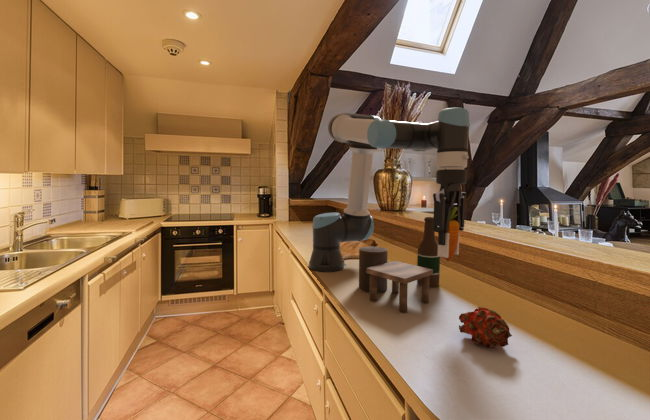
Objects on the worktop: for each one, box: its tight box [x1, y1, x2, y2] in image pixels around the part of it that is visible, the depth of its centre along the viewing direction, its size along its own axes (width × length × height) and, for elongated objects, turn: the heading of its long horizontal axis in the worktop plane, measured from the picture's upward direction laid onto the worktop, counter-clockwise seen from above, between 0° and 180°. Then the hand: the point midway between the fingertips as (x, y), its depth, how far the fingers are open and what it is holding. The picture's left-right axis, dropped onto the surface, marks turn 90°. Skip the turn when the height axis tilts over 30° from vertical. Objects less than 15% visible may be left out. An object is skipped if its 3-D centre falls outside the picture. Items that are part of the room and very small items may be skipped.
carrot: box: [444, 207, 460, 262], centre depth 82 cm, size 5×5×15 cm
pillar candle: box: [358, 245, 389, 294], centre depth 104 cm, size 10×10×15 cm
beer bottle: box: [416, 216, 441, 289], centre depth 107 cm, size 8×8×24 cm
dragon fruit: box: [458, 306, 513, 349], centre depth 67 cm, size 8×8×12 cm
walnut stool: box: [366, 260, 433, 314], centre depth 92 cm, size 14×14×10 cm
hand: (448, 255), depth 82 cm, fingers closed on carrot, 5 cm apart
